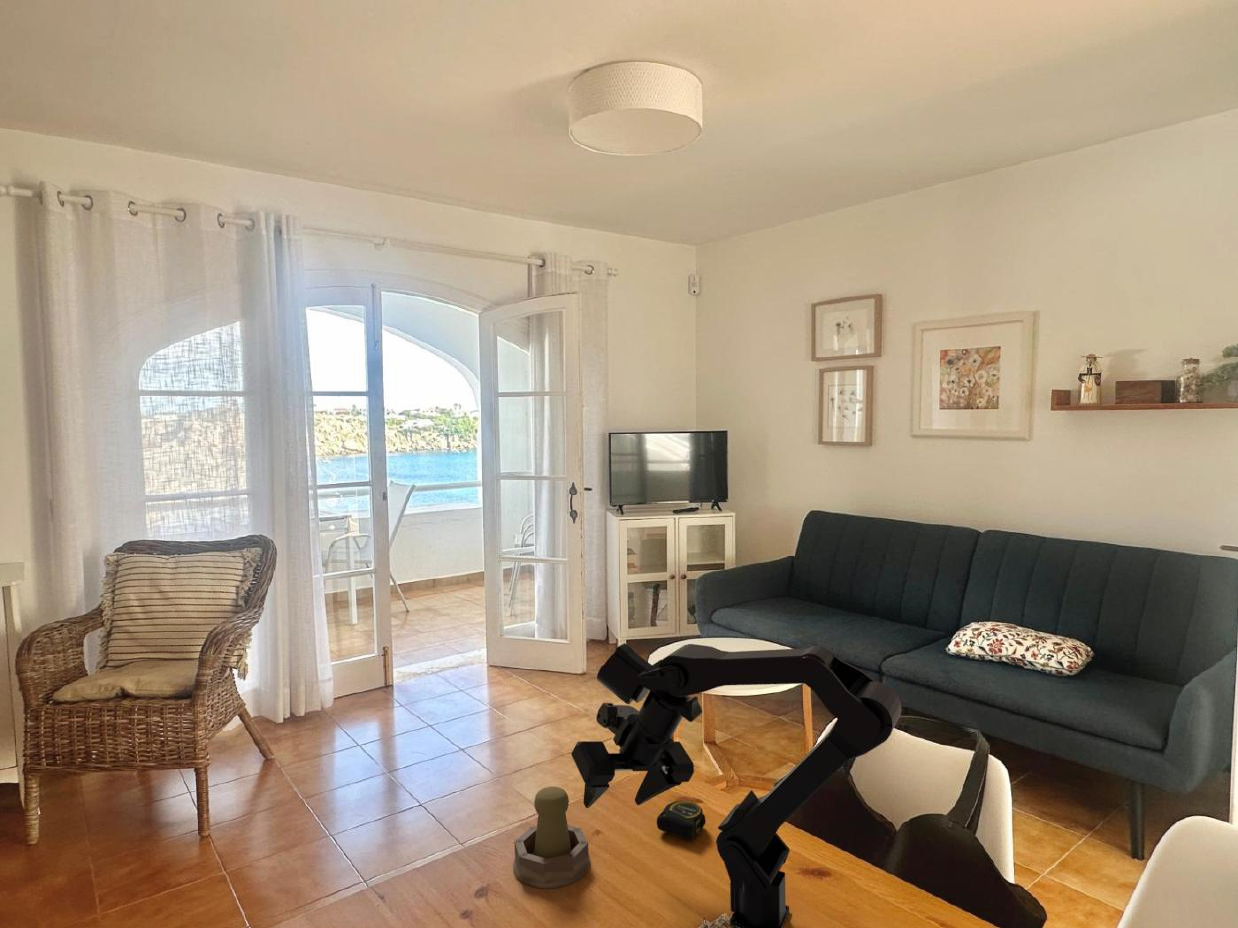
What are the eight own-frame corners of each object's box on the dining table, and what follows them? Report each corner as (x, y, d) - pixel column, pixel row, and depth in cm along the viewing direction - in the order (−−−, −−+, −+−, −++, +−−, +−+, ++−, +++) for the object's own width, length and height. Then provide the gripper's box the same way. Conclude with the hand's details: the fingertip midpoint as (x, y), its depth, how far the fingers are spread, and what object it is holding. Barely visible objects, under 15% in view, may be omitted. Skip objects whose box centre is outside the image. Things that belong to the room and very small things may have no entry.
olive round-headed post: (574, 870, 112) (573, 798, 112) (533, 875, 111) (531, 802, 111) (571, 847, 118) (569, 779, 118) (532, 851, 117) (530, 782, 117)
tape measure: (654, 834, 123) (654, 812, 122) (676, 816, 128) (676, 794, 128) (691, 848, 119) (690, 825, 118) (712, 828, 124) (712, 806, 124)
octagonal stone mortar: (603, 853, 117) (602, 831, 117) (564, 896, 107) (563, 872, 107) (540, 836, 123) (540, 815, 122) (497, 875, 112) (497, 852, 112)
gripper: (679, 686, 119) (638, 761, 124) (579, 681, 109) (538, 763, 113) (715, 739, 110) (670, 817, 115) (610, 739, 100) (565, 824, 105)
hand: (611, 803), depth 112 cm, fingers open, 9 cm apart
